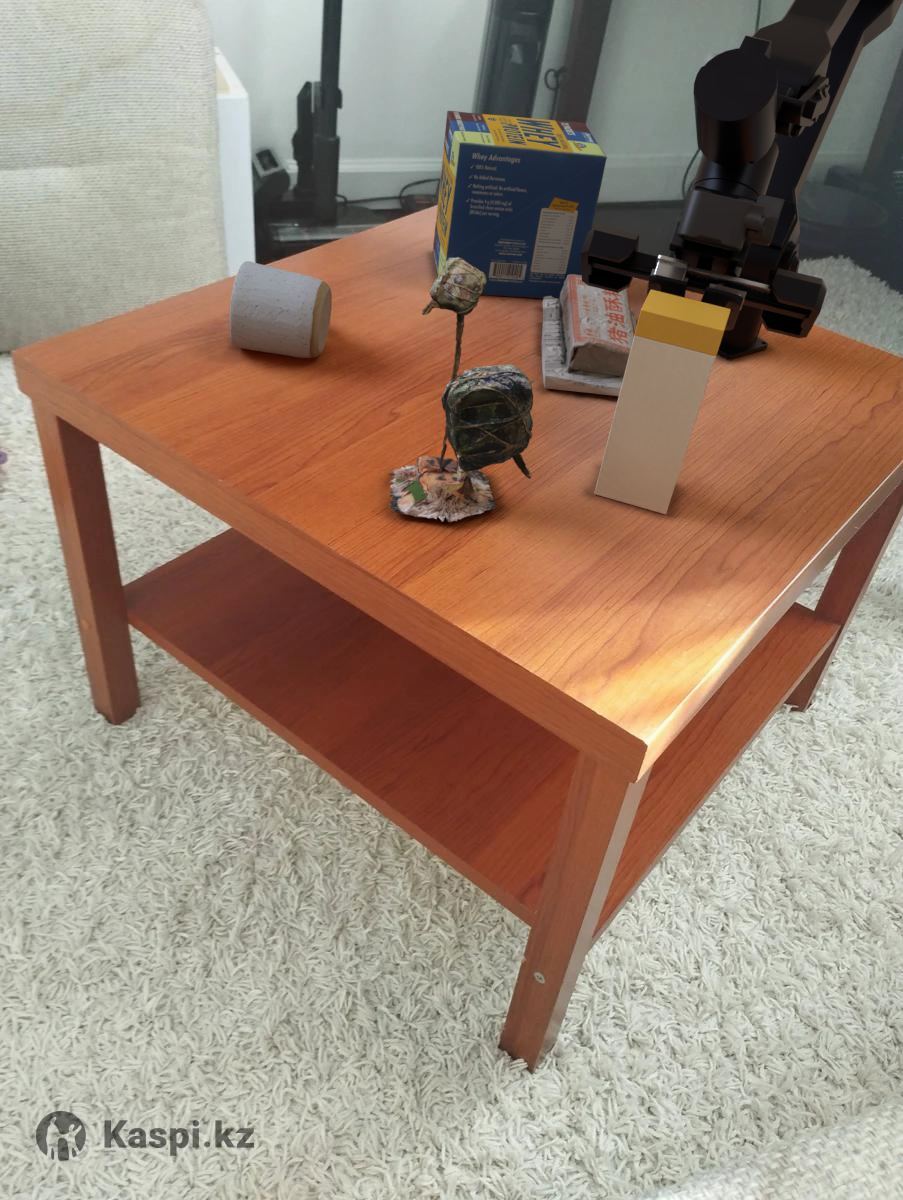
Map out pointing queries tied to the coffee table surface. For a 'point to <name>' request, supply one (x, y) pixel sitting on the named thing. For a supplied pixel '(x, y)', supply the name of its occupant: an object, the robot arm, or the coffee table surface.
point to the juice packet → (660, 399)
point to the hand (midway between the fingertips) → (667, 382)
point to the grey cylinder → (279, 311)
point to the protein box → (517, 200)
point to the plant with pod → (467, 419)
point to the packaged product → (586, 338)
